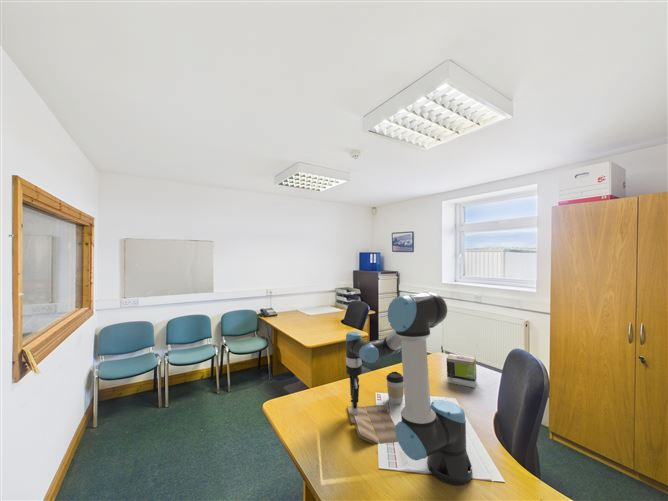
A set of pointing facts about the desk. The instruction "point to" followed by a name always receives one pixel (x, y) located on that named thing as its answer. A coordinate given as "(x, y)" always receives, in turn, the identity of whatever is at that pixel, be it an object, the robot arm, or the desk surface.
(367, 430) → the plank near
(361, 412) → the plank far
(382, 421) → the laid board
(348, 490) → the desk surface
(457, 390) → the desk surface
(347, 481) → the desk surface
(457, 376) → the tea box
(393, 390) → the coffee cup
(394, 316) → the robot arm
